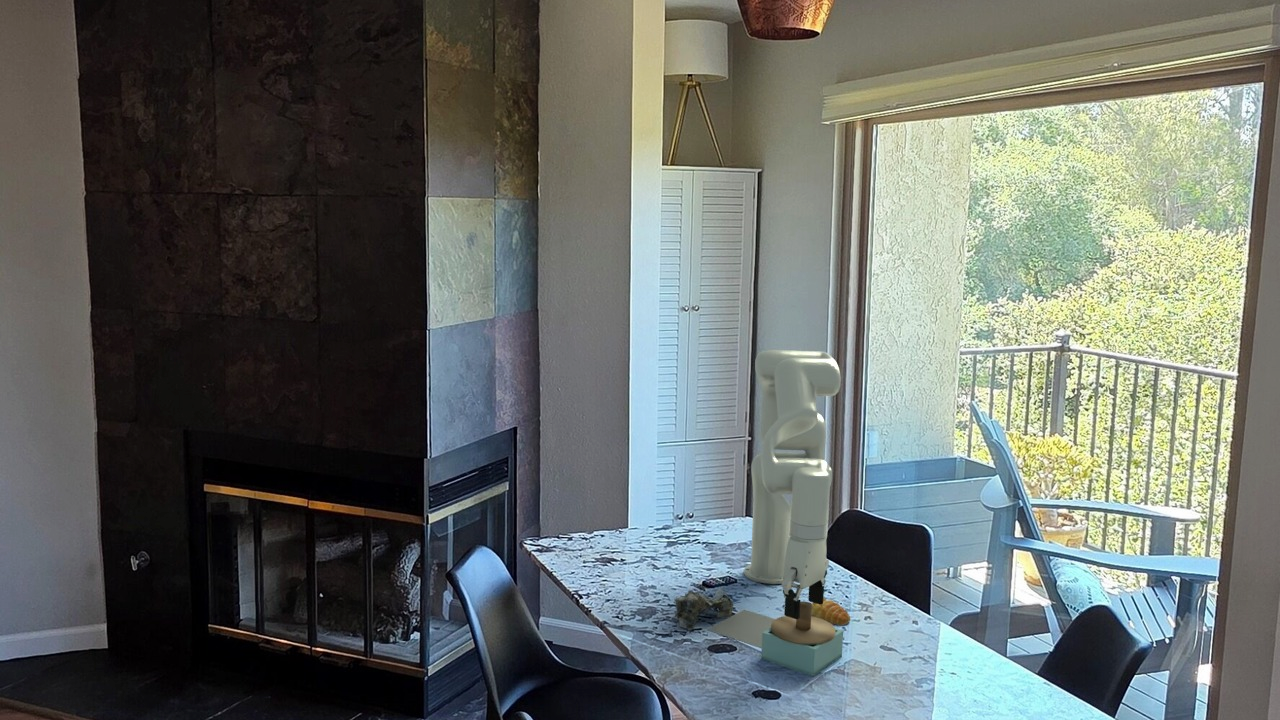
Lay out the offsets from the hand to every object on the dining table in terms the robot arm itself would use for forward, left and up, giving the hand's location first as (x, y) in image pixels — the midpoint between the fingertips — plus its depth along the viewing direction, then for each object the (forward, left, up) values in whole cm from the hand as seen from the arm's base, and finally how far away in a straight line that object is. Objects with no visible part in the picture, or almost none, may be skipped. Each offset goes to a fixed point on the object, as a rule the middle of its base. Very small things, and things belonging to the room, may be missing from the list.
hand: (803, 609), depth 210 cm
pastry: (-23, -6, -11) cm, 26 cm away
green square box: (0, 0, -11) cm, 11 cm away
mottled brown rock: (-3, -27, -11) cm, 29 cm away
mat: (-6, -15, -11) cm, 19 cm away
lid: (0, 0, -5) cm, 5 cm away
